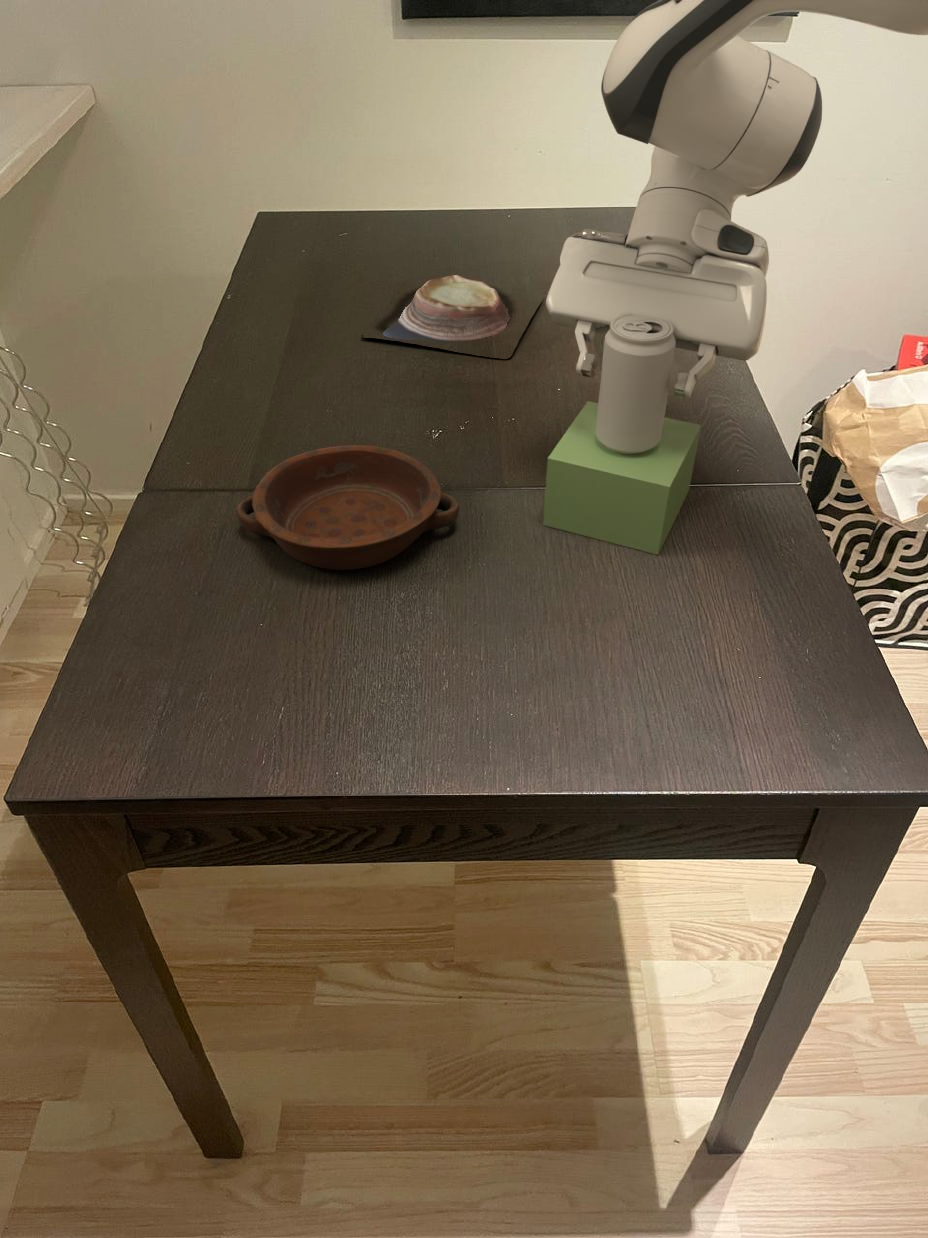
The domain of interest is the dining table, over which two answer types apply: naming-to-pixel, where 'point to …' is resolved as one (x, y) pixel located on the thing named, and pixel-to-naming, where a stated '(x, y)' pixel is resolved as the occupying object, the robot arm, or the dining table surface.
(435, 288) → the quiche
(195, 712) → the dining table surface
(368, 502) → the dish
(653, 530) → the green block
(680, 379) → the robot arm
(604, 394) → the beverage can
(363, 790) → the dining table surface
